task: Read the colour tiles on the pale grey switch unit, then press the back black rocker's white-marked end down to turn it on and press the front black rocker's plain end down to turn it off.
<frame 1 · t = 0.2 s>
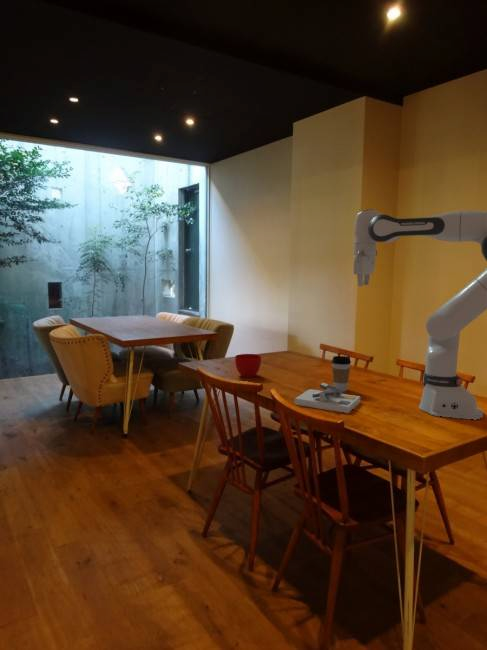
hand: (363, 285, 187), 47 cm above the table, tool pointing down, fingers open, 8 cm apart
rocker back: (331, 388, 188), point 5 cm above the table, hinge at -15.0°
rocker front: (324, 393, 181), point 5 cm above the table, hinge at 15.0°
coffee cup: (340, 389, 206), on the table
switch unit: (327, 403, 185), on the table
ceramic cup: (248, 375, 233), on the table
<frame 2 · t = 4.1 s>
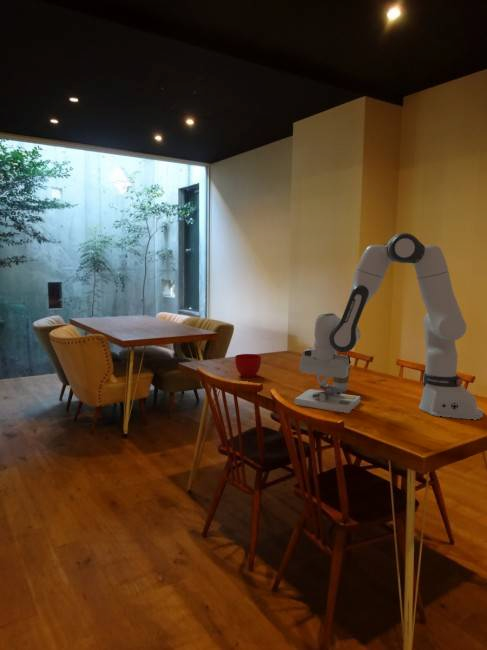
hand: (322, 385, 190), 6 cm above the table, tool pointing down, fingers closed, pressing on rocker back
rocker back: (331, 388, 188), point 5 cm above the table, hinge at -11.1°, touching gripper
everything else where it was.
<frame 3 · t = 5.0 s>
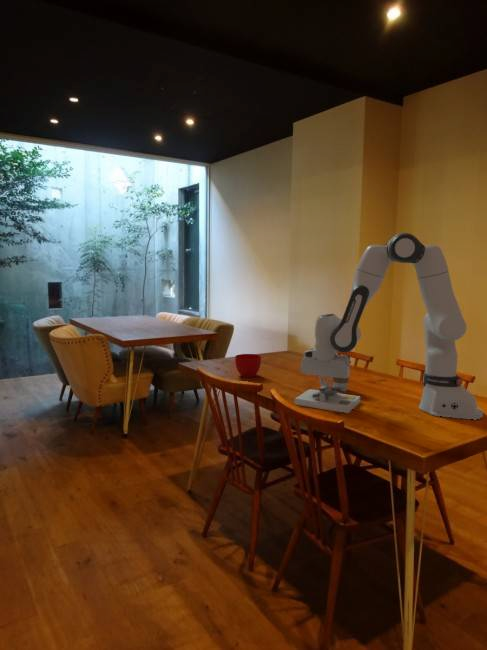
hand: (324, 386, 190), 6 cm above the table, tool pointing down, fingers closed
rocker back: (331, 388, 188), point 5 cm above the table, hinge at 8.3°
everything else where it was.
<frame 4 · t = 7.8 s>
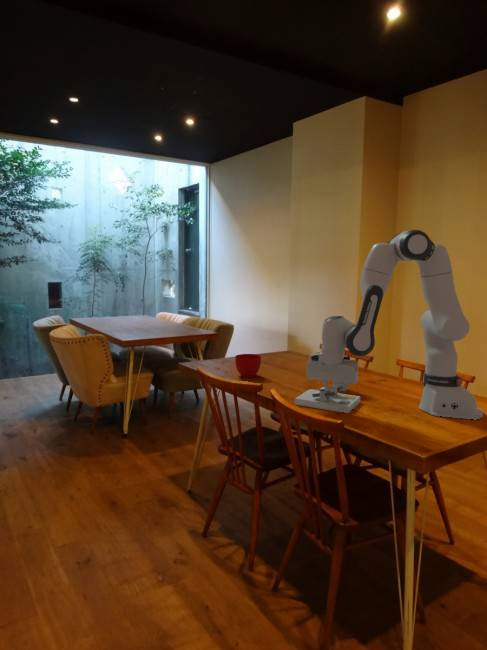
hand: (330, 392, 180), 6 cm above the table, tool pointing down, fingers closed
rocker back: (331, 388, 188), point 5 cm above the table, hinge at 13.8°
rocker front: (324, 393, 181), point 5 cm above the table, hinge at 12.0°, touching gripper
everything else where it was.
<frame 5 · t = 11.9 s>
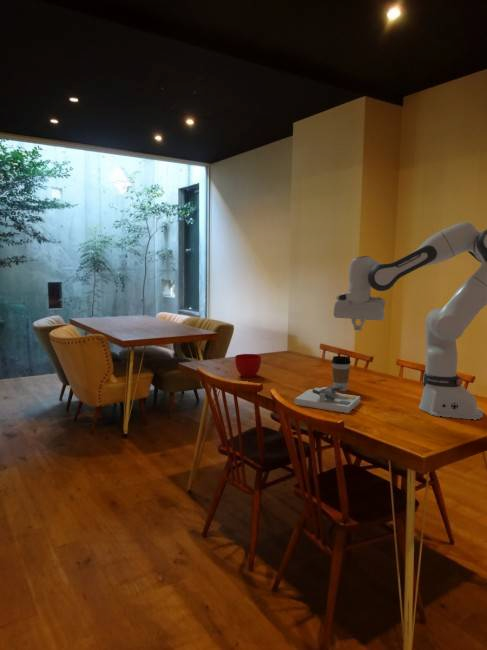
hand: (357, 330, 188), 29 cm above the table, tool pointing down, fingers closed
rocker front: (324, 393, 181), point 5 cm above the table, hinge at -13.1°
everything else where it was.
at the end: rocker back at +14° (first picture: -15°); rocker front at -13° (first picture: +15°) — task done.
